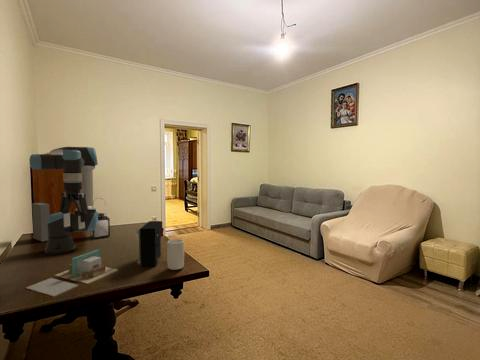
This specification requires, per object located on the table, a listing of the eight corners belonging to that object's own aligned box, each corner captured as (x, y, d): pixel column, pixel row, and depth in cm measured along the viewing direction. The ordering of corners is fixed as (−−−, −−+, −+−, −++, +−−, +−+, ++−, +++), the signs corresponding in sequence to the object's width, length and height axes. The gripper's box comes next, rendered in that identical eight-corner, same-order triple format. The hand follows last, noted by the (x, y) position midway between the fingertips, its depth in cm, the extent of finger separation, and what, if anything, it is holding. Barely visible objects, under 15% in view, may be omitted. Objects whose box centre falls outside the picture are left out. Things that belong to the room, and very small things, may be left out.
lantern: (110, 236, 189) (109, 198, 188) (92, 238, 183) (91, 199, 181) (107, 233, 198) (106, 196, 197) (90, 235, 191) (89, 197, 190)
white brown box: (71, 272, 124) (71, 258, 124) (83, 267, 130) (83, 254, 129) (91, 276, 119) (90, 262, 119) (102, 271, 125) (101, 257, 125)
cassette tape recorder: (52, 239, 180) (50, 204, 178) (41, 241, 175) (40, 205, 173) (43, 236, 187) (42, 202, 186) (33, 238, 182) (31, 203, 181)
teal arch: (72, 276, 119) (71, 258, 118) (97, 266, 131) (97, 249, 131) (75, 277, 118) (74, 258, 118) (100, 266, 130) (100, 249, 130)
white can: (175, 273, 125) (175, 244, 124) (163, 269, 129) (163, 241, 128) (187, 267, 132) (187, 240, 131) (176, 264, 136) (175, 237, 135)
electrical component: (146, 255, 150) (145, 221, 148) (164, 254, 151) (163, 220, 149) (136, 267, 132) (135, 228, 131) (157, 266, 133) (156, 228, 132)
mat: (25, 289, 109) (25, 287, 109) (51, 279, 118) (50, 277, 118) (54, 297, 102) (53, 295, 102) (78, 286, 111) (78, 284, 111)
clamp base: (54, 276, 121) (54, 267, 121) (86, 264, 136) (86, 256, 136) (87, 284, 113) (87, 275, 113) (117, 270, 128) (117, 262, 128)
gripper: (49, 181, 126) (51, 227, 127) (81, 183, 117) (83, 231, 119) (64, 180, 133) (66, 223, 134) (96, 182, 124) (97, 227, 126)
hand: (74, 227), depth 126 cm, fingers open, 10 cm apart
